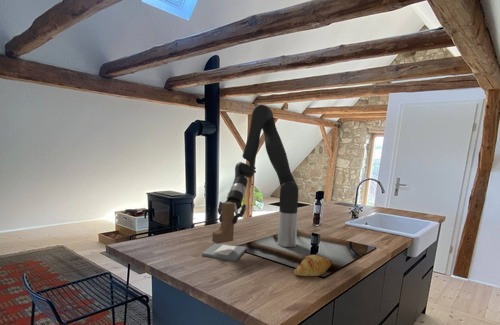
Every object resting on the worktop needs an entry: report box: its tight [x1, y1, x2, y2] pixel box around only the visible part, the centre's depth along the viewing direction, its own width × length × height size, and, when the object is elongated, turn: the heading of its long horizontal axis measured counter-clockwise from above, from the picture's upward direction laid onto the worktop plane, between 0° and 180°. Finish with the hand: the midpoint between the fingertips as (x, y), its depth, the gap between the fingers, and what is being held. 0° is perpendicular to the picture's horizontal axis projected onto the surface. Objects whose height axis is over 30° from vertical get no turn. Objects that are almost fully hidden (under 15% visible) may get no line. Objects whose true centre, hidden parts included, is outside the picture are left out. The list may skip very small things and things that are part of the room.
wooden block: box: [211, 201, 235, 244], centre depth 133 cm, size 9×4×18 cm, turn 127°
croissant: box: [293, 254, 332, 277], centre depth 117 cm, size 21×10×8 cm, turn 126°
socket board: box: [201, 242, 247, 262], centre depth 133 cm, size 16×16×1 cm
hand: (227, 222), depth 134 cm, fingers closed on wooden block, 6 cm apart
